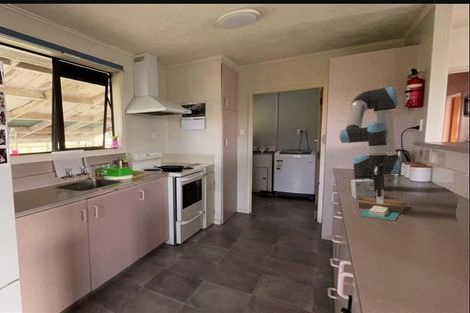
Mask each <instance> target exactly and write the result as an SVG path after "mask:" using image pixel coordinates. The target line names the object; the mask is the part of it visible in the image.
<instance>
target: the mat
mask: <svg viewBox="0 0 470 313" xmlns="http://www.w3.org/2000/svg"><path fill="white" fill-rule="evenodd" d="M369 210H370V209H364V210H363V211H362V212H360V214H359V215H358V216H359V217H363V218H371V219H378V220H384V221H391V222H395V221H396V220H397V218H398V217H399V216H400V214H401V213H398V212H390V211H388V213H387V214H386V215H385V216H384V217H382V216H375V215H369Z"/></svg>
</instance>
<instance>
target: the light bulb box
mask: <svg viewBox="0 0 470 313" xmlns="http://www.w3.org/2000/svg"><path fill="white" fill-rule="evenodd" d="M350 185H351V186H350V187H351V197H352V196H353V197H354V198H353V197H352V198H353V199H355V200H362V199H364V198H365V197H369V198H376V197H375V196H376V195H375V191H374V180H371V179H358V180H354V179H351V180H350Z"/></svg>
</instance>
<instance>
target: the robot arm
mask: <svg viewBox="0 0 470 313" xmlns="http://www.w3.org/2000/svg"><path fill="white" fill-rule="evenodd" d="M399 104H400V103H399V98H398V94H397V90H396V87H394V86H389V87H388V86H387V87H382V88H377V89H372V90H366V91H363V92H361V93H359V94H358V95H356V96H355V98H354V99H353V100H352V101H351V103H350V106H349V110H350V113H349V116H348V120H347V123H346V127H345V128H344V129H340V131H339V140H340V142H341V143H343V144H351V143H353V144H354V143H367V142H368V144H367V146H368V147H367V148H366V149H367V150H368V154H364V155H358V156H355V157H354V158H353V162H352V163H353V177H354V178H353V180H358V179H371V180H374V192H376V193H375V194H376V195H375V196H376V197H375V198H377V203H381V204H383V203H384V199H385V197H384V195H385V194H384V190H386V187H385V175H398V174H400V170H401V169H400V168H401V160H402V155H399V153H398V151H397V150H396V143H395V141H396V140H395V127H394V126H395V125H394V112H395V111H396V110H397V107H398V106H400V105H399ZM368 110H373V113H374V114H376V121H372V122H368V123H367V126H366V127H362V125H363V121H364V116H365V112H366V111H368Z"/></svg>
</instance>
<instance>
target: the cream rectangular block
mask: <svg viewBox="0 0 470 313" xmlns="http://www.w3.org/2000/svg"><path fill="white" fill-rule="evenodd" d="M388 211H389V209H388V207H382V206H373V207H372V208H371V209H370V210H369V215H375V216H382V217H384V216H385V215H386V214H387V213H388Z"/></svg>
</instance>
